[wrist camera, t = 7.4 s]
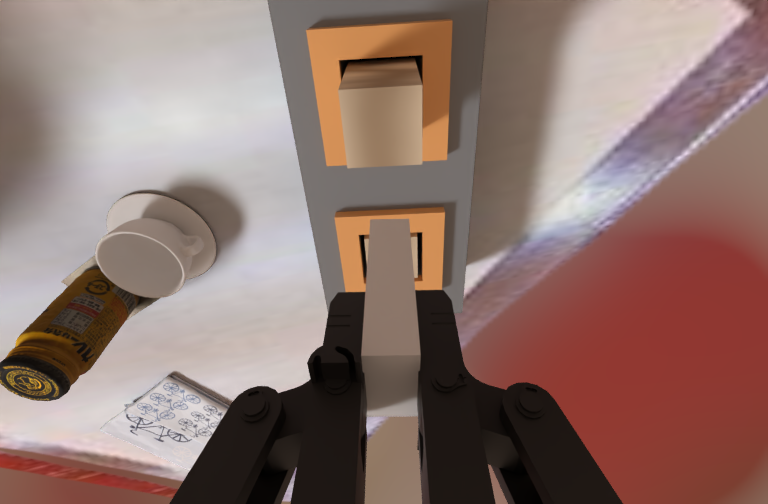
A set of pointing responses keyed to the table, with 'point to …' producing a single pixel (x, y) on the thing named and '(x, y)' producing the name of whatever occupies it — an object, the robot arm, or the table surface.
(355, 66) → the peg
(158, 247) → the teacup
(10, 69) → the table surface
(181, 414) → the bicycle print napkin
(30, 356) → the condiment
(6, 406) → the table surface
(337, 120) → the block
